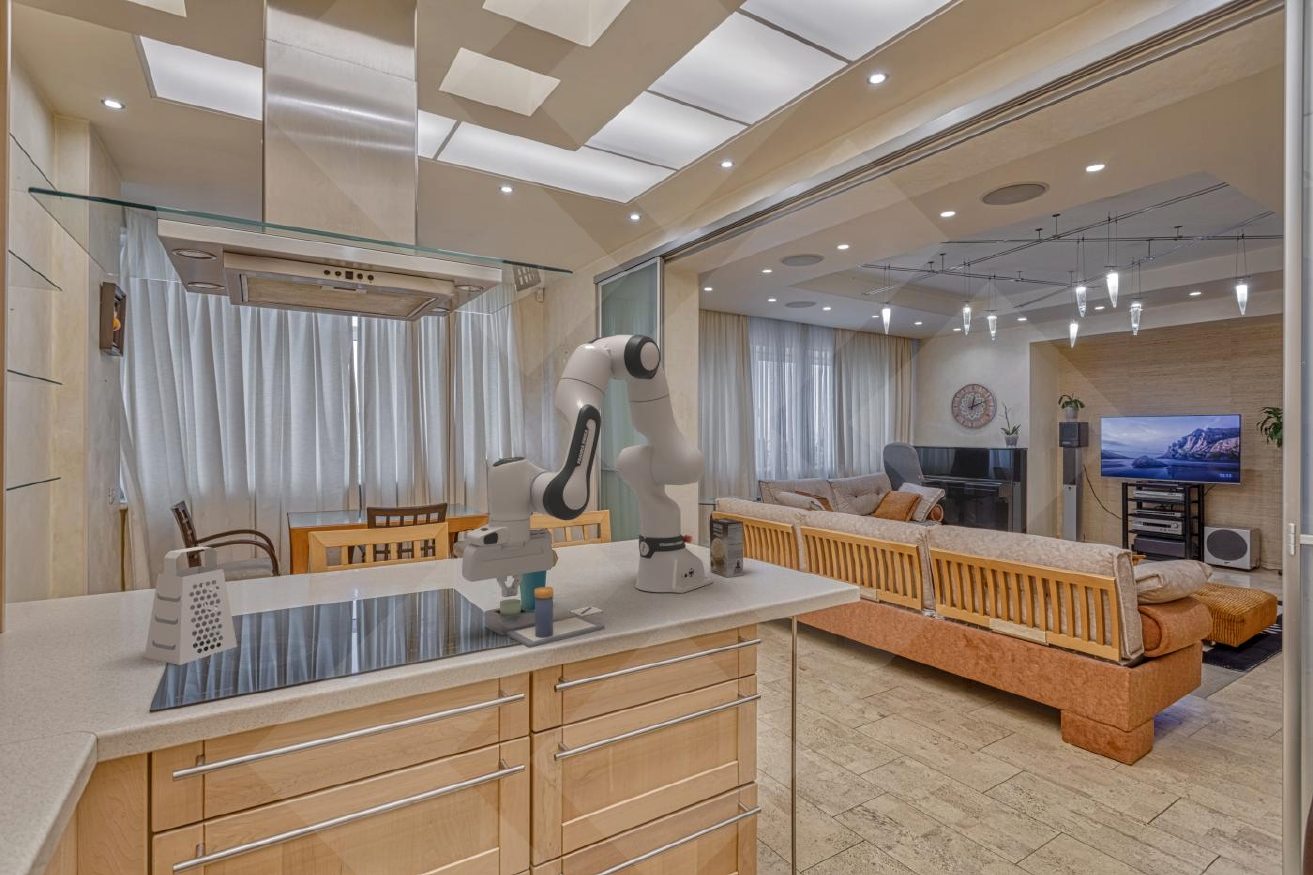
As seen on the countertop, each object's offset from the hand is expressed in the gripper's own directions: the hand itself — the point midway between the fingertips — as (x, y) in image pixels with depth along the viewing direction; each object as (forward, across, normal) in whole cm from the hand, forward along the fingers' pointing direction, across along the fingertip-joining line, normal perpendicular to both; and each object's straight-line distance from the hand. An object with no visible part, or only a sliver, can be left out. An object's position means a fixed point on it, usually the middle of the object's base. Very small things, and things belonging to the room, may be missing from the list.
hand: (509, 595), depth 134 cm
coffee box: (+6, -73, -5) cm, 74 cm away
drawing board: (+7, -6, +9) cm, 13 cm away
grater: (+8, +54, -27) cm, 61 cm away
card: (+7, -19, +1) cm, 20 cm away
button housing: (+7, 0, 0) cm, 7 cm away
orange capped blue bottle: (+6, -2, +11) cm, 13 cm away
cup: (+7, -11, -12) cm, 18 cm away
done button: (+5, 0, 0) cm, 5 cm away
